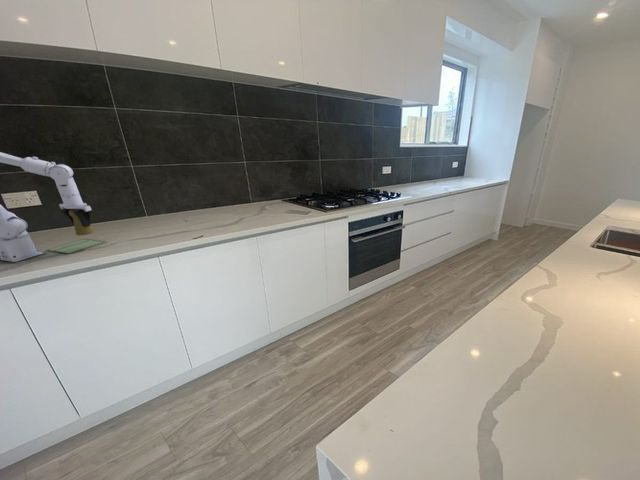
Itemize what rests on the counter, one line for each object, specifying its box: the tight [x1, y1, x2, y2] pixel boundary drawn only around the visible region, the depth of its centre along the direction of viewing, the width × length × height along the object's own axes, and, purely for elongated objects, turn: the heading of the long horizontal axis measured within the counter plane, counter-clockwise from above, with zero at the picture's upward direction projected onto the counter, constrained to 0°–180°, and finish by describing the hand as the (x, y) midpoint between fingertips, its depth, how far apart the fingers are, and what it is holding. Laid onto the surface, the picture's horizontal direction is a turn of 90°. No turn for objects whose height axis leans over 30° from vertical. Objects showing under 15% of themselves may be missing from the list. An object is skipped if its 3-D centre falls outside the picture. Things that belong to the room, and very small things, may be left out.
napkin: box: [47, 238, 104, 255], centre depth 135 cm, size 14×12×1 cm
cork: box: [69, 209, 96, 236], centre depth 129 cm, size 6×6×11 cm
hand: (82, 225), depth 130 cm, fingers closed on cork, 5 cm apart
